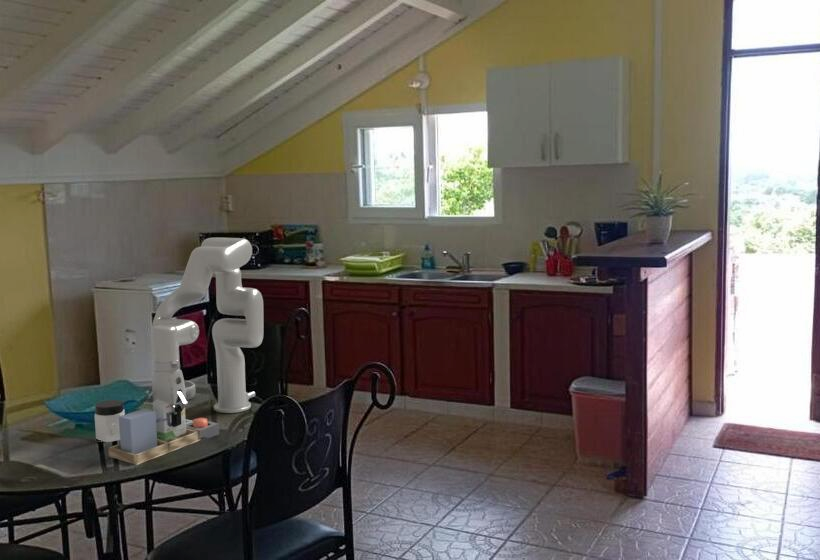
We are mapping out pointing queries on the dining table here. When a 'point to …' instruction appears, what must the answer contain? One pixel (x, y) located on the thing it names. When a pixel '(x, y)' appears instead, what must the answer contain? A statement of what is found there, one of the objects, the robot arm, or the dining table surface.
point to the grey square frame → (206, 429)
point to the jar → (108, 420)
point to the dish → (189, 389)
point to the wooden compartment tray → (155, 448)
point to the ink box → (167, 421)
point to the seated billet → (138, 431)
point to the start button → (200, 423)
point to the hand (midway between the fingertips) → (170, 423)
